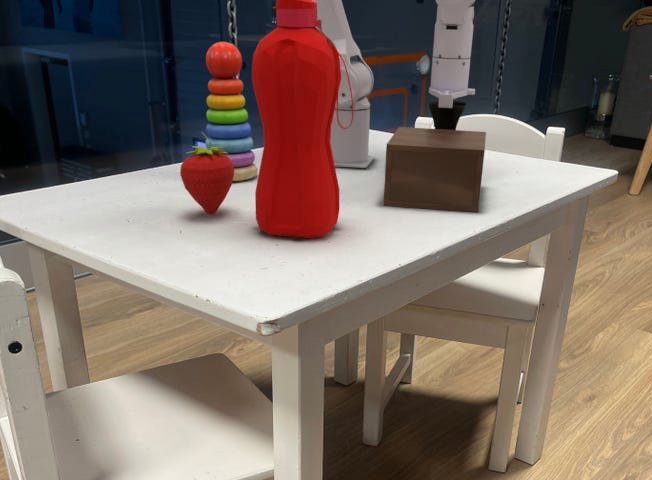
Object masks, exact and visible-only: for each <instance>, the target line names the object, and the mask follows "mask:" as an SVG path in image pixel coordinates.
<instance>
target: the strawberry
mask: <svg viewBox="0 0 652 480" xmlns="http://www.w3.org/2000/svg"><path fill="white" fill-rule="evenodd" d="M200 132H201V134H202V136H204V137H205V138H206V139H208V136H207V135H205V133H204V132H203V131H200ZM208 140H209V139H208ZM209 142H210V140H209ZM210 143H211V142H210ZM210 143H209V148H210ZM191 148H192V149H194V150H191V151H186V152H185V153H186V154H192V155H190V156H188V157H186V158H184V160H183V162H182V163H181V164H180V171H179V175H180V178H181V181H182V184H183V186H184V188H185V190H186V191H187V193H188V194H189V195H190V196H191V198H192V199H193V200H194V201H195V202H196V203H197V204H198V205H199V206H200V207H201V208H202V209H203V211H204V212H205V213H206V214H207V215H209V216H212V215H213V216H214V215H215V214H216V213H217V212H218V211H219V209H220V207H221V205H222V204H223V203H224V201H225V199H226V198H227V195H228V193H229V192H230V190H231V188H232V185H233V182H234V181H233V176H234V171H235V170H234V166H233V162H232V161H231V159H230V158H229V157H228V156H226V155H223V154H229V153H227V152H225V151H223V150H219V149H223V148H224V147H211V148H210V149H209V148H207V147H206V146H198V145H197V146H196V145H192V146H191Z"/></svg>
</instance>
